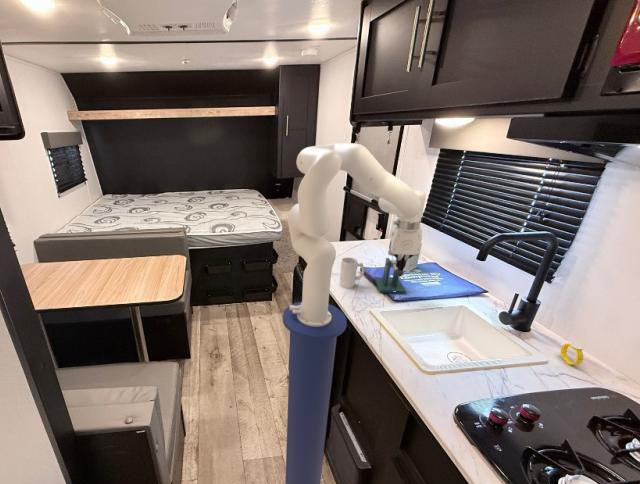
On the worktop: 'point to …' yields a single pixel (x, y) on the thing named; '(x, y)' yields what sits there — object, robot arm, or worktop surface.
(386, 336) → the worktop surface
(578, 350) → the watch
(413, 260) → the small box
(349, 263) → the mug
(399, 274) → the toaster lever
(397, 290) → the toaster bracket
